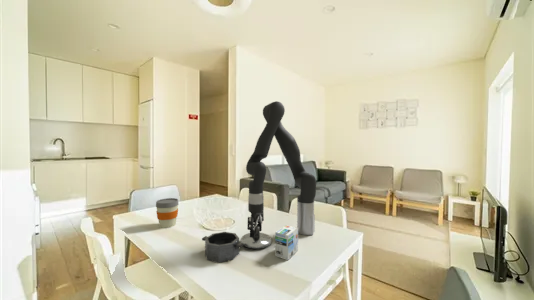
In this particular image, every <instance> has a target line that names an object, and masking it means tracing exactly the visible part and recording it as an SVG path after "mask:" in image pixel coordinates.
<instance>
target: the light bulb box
mask: <svg viewBox="0 0 534 300" xmlns="http://www.w3.org/2000/svg"><path fill="white" fill-rule="evenodd" d="M274 234H275V235H274V239H275V241H274V242H275V243H274V247H275V248H274V250H275V252H274V254H275V255H274V256H275V257H277V258H281V259H283V260H287V261H289V260H291V258H292V257H293V256H294V255H296V253H297V252H298V251H299V233H298V228H297V227H295V226H291V225H284V226H283V227H281V228H279V229H278V230H276V231H275V233H274Z"/></svg>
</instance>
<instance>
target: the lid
mask: <svg viewBox="0 0 534 300" xmlns="http://www.w3.org/2000/svg"><path fill="white" fill-rule="evenodd" d="M240 243H243V246H244V247H246V248H248V249H255V250H257V249H263V248H266V247H268V246H270V245H271V243H272V237H271V236H270V235H269V234H267V233H264V232H261V231H260V226H257V225H256V226H255V237H254V238H251V237H250V232H248V233H246V234H244V235H242V236H241V238H240Z"/></svg>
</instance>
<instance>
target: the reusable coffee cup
mask: <svg viewBox="0 0 534 300" xmlns="http://www.w3.org/2000/svg"><path fill="white" fill-rule="evenodd" d="M155 208H156V211H155V212H156V218H157V220H158V224H159V225H158V226H159V228H161V229H169V228H172V227H174V226H176V225H177V217H178V213H179V212H178V211H179V199H178V198H171V197H168V198H162V199H158V200H156V201H155Z"/></svg>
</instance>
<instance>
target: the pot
mask: <svg viewBox="0 0 534 300" xmlns="http://www.w3.org/2000/svg"><path fill="white" fill-rule="evenodd" d="M201 241H202V242H203V241H204V243H205V244H204V245H205V246H204V247H205V248H204V249H205V250H204V251H205V252H204V253H205V254H204V255H205V257H206V260H207V261H210V262H215V263H217V264H218V263H219V264H220V263H224V262H229V261H233V260H234V259H235V258H237V256H238V255H239V254H240V248H242V247H243V246H244V245H243V243H241V241H240V237H239V236H238V235H237V234H236V233H235V232H229V231H222V232H215V233H211V234H210V235H208V236H207V235H205V236H202V238H201Z"/></svg>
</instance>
